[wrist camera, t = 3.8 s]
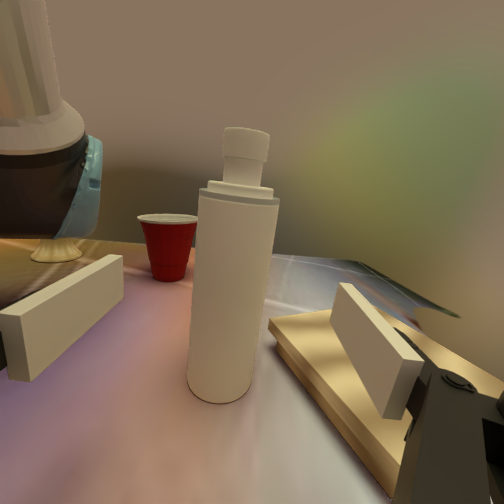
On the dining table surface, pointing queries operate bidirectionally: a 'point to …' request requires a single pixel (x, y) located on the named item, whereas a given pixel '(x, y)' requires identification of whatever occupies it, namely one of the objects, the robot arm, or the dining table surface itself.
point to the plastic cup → (168, 243)
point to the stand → (360, 386)
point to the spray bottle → (231, 270)
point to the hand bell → (56, 251)
